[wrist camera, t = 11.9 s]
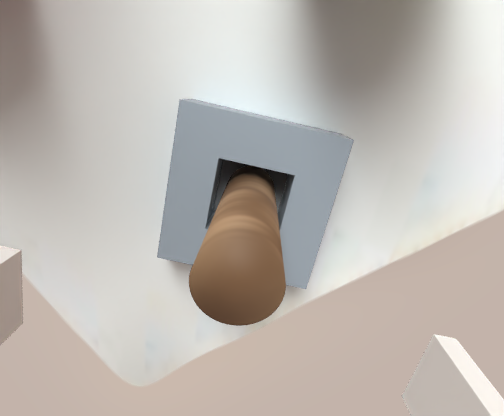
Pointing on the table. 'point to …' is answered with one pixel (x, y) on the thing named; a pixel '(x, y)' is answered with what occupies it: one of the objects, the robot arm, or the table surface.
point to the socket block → (260, 155)
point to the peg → (241, 253)
